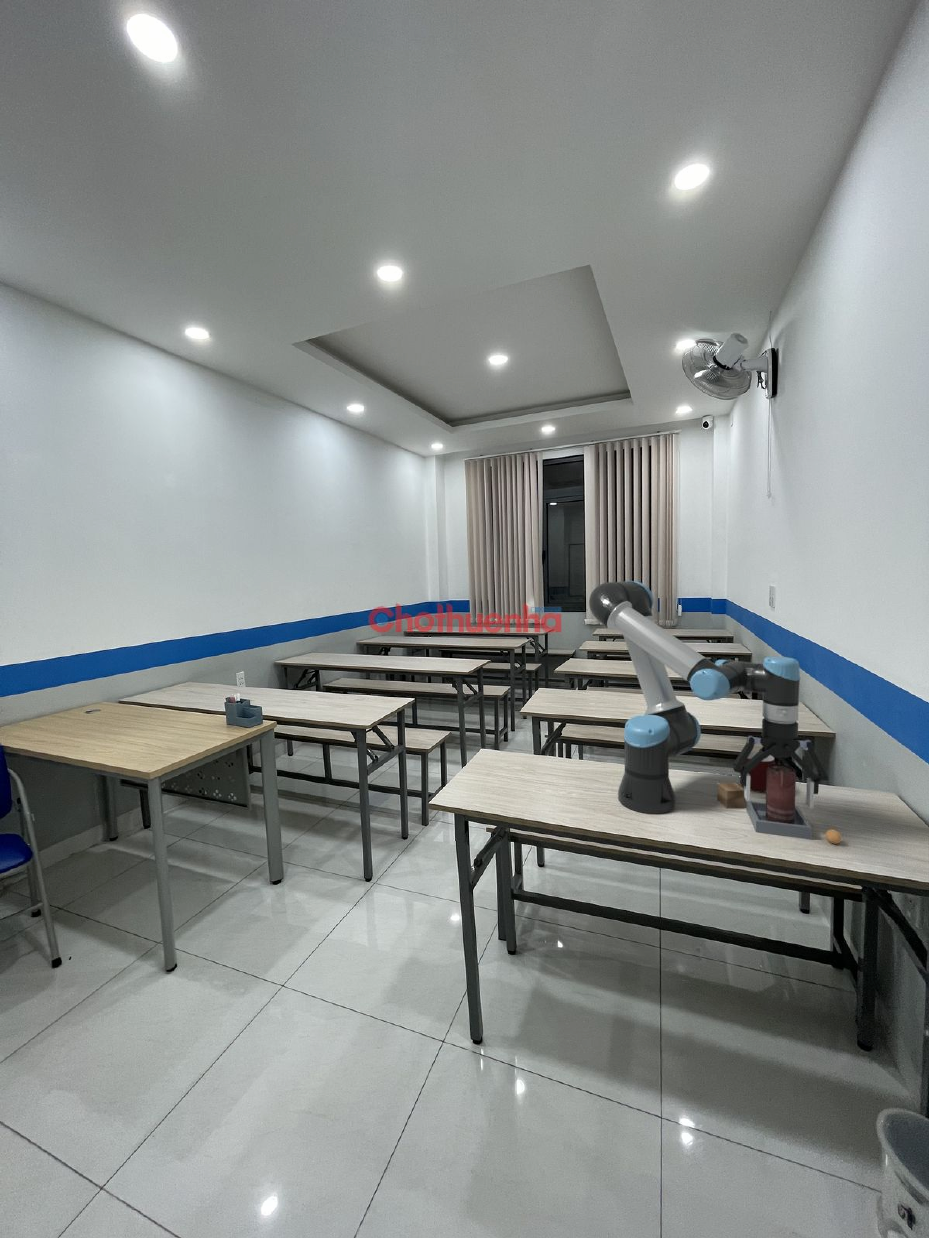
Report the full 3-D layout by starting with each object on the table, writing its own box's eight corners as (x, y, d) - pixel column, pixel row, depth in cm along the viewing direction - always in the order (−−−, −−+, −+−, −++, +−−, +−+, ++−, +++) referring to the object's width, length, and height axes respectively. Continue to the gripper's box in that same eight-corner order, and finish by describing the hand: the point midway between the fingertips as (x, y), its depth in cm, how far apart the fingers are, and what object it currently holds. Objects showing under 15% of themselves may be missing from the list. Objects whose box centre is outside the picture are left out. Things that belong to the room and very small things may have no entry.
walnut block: (726, 808, 133) (727, 790, 132) (717, 800, 138) (717, 783, 137) (745, 808, 133) (745, 790, 132) (734, 799, 138) (735, 782, 137)
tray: (755, 831, 120) (756, 821, 120) (746, 810, 131) (746, 800, 131) (811, 839, 116) (812, 828, 116) (797, 816, 127) (797, 806, 127)
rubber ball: (827, 844, 114) (828, 832, 113) (823, 838, 117) (823, 826, 116) (843, 847, 113) (843, 834, 112) (838, 840, 115) (838, 828, 115)
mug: (780, 786, 145) (781, 754, 144) (786, 798, 137) (787, 763, 136) (739, 782, 149) (740, 750, 148) (744, 793, 141) (744, 759, 140)
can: (768, 825, 121) (770, 771, 120) (763, 813, 127) (764, 761, 126) (797, 829, 119) (799, 774, 118) (790, 817, 125) (792, 764, 124)
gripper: (726, 720, 122) (724, 802, 124) (846, 728, 114) (843, 815, 115) (721, 712, 129) (720, 789, 131) (834, 719, 121) (831, 802, 122)
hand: (777, 802), depth 123 cm, fingers open, 13 cm apart
